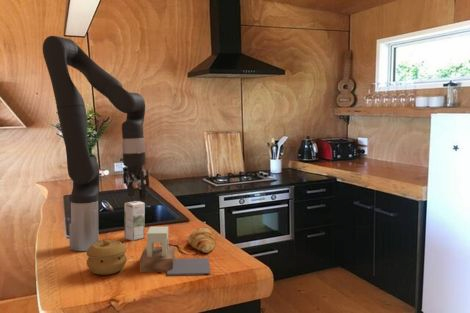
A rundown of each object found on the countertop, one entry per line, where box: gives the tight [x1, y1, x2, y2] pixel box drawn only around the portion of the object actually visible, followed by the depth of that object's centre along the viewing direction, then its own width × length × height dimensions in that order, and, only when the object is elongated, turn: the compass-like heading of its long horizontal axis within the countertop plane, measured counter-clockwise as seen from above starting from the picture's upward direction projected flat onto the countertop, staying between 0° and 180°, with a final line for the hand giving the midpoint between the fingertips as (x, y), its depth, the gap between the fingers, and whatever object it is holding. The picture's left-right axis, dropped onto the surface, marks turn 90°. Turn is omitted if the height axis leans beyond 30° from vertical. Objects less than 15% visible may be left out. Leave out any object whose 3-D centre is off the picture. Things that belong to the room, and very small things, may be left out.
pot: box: [86, 239, 128, 276], centre depth 119 cm, size 12×12×10 cm
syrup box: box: [123, 200, 146, 242], centre depth 154 cm, size 6×6×14 cm
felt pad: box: [166, 257, 211, 277], centre depth 124 cm, size 13×13×1 cm
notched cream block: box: [146, 226, 169, 257], centre depth 125 cm, size 6×8×8 cm
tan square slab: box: [139, 246, 176, 273], centre depth 126 cm, size 10×12×4 cm
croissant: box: [187, 226, 217, 254], centre depth 146 cm, size 21×10×8 cm, turn 15°
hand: (136, 198), depth 134 cm, fingers open, 8 cm apart
